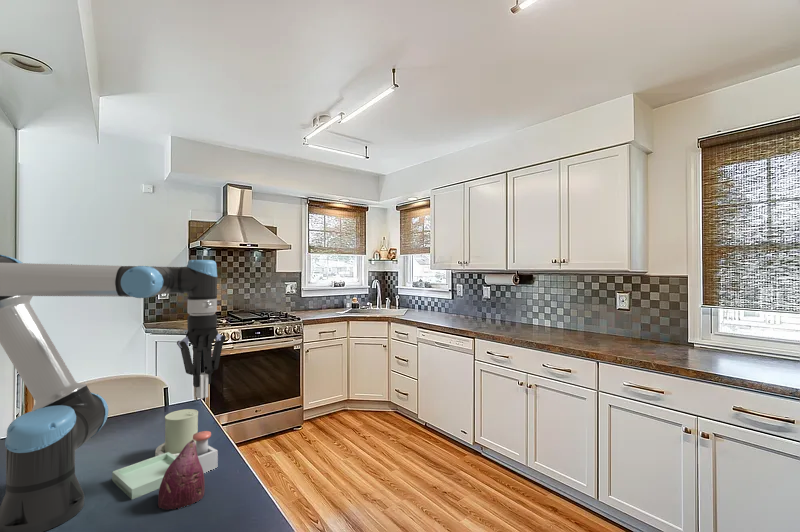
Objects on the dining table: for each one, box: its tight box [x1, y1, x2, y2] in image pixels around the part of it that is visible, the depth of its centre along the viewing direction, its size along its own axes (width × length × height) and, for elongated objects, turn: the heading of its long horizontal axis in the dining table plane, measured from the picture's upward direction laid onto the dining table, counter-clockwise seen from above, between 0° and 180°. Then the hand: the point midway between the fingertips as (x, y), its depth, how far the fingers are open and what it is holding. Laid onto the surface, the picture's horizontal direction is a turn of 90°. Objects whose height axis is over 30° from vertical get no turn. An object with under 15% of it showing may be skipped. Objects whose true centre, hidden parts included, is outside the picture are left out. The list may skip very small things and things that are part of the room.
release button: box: [193, 430, 212, 456], centre depth 110 cm, size 5×5×6 cm
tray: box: [111, 452, 176, 500], centre depth 105 cm, size 14×14×2 cm
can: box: [164, 408, 199, 454], centre depth 121 cm, size 9×9×12 cm
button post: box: [198, 444, 219, 474], centre depth 110 cm, size 6×6×5 cm
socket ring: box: [154, 442, 180, 457], centre depth 121 cm, size 14×14×2 cm
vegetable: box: [157, 439, 206, 510], centre depth 98 cm, size 10×10×15 cm
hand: (202, 396), depth 110 cm, fingers closed
